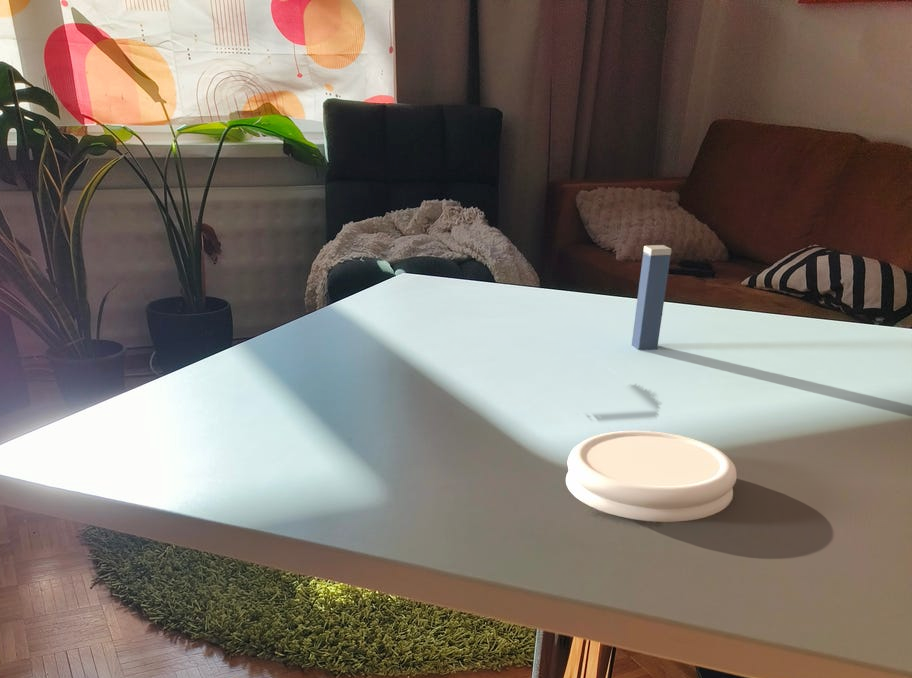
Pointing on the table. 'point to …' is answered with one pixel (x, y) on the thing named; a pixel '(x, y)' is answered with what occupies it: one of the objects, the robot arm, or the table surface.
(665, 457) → the coaster
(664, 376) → the table surface
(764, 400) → the table surface
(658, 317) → the blue square bar
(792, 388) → the table surface
